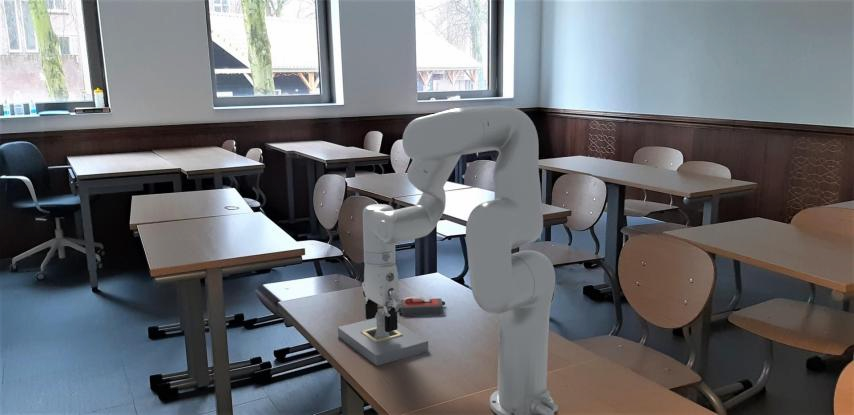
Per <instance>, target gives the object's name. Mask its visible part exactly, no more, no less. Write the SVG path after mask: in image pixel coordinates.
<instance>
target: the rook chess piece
mask: <svg viewBox="0 0 854 415" xmlns="http://www.w3.org/2000/svg"><path fill="white" fill-rule="evenodd" d="M385 316H386V313H385V310H384V311H383V310H381V311H379V310H378V312H377V313H376V315H375V318H376V319H377V321H376V324H377V329H376V333H375V336H374V338H375V339H376V340H378V339H381V338H385V337H389V336H390V335H389V333H388V332H386V331H385Z"/></svg>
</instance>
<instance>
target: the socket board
mask: <svg viewBox="0 0 854 415" xmlns="http://www.w3.org/2000/svg"><path fill="white" fill-rule="evenodd" d="M376 321H377V319H376V318H372V319H368V320H367V319H365V320H361V321H357V322H353V323H349V324H345V325H341V326H337V337H338V338H339V339H341V340H343V342H345V343H346V344H347V345H348V346H350V347H351V348H353V349H354V350H355V351H356V352H357V353H359V354H361V356H363V357H365V358H366V359H367V360H369V361H370V362H371V363H373V364H374V365H375V366H380V365H384V364H388V363H391V362H395V361H397V360H398V361H399V360H401V359H405V358H408V357H411V356H415V355H419V354H422V353H426V352H428V351H429V341H428V340H427V339H426V338H424V337H422V336H420V335H419V334H417V333H416V332H414V331H413V330H411V329H410V328H407V327H406V326H404V325H403V324H402V323H399V322H398V321H397V324H398V328H397V330H394V331H390V332H388V333H389V335H390V336H389V337H385V338H381V339H378V340H376V339H375V338H374V336H375V333H376V329H377V324H376Z"/></svg>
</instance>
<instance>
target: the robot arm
mask: <svg viewBox="0 0 854 415" xmlns="http://www.w3.org/2000/svg"><path fill="white" fill-rule="evenodd" d="M534 124H535V123H534V122H533V121H532V120H531V118H530V117H529V116H528V115H527V114H526V113H525V112H524V111H522V110H520V109H519V108H516V107H513V106H508V105H495V104H494V105H483V106H482V105H480V106H468V107H467V106H466V107H458V108H452V109H448V110H444V111H441V112H437V113H434V114H429V115H425V116H421V117H417V118H415V119H413V120H411V121H410V122H409V123H408V125H407V126H406V127H405V129H404V132H403V134H402V147H403V150H404V153H405V155H406V156H407V157H408V158H409V159H411V163H410V164H409V167H408V169H407V171H406V174H407V175H406V176H407V179H408V181H409V183H410V184H411V185H412V186H413V187H414V188H415V189H417V190H418V191H420V192H421V193H422V194H421V196H420V198H419V199H418V201H417V202H416V204H415V205H412V206H406V207H402V208H399V209H394V207H393V206H391V205H389V204H385V203H383V204H382V203H375V204H374V203H373V204H369V205H367V206H365V207H364V208H363V210H362V231H363V232H362V233H363V234H362V236H363V243H362V244H363V264H364V268H363V270H364V271H363V282H362V283H361V287H362V290H363V293H362V295H363V296H364V300H363V302H364V304H365V307H364V308H365V320H369V319H373V318H375V315H376V313H377V312H378V311H379V308H378V306H380V307H383V310H384V311H385V313H386V316H385V331H386V332H390V331H394V330H397V328H398V324H397V322H398V315H399V314H400V313H399V310H400V305H401V301H400V300H401V294H400V282H399V281H400V280H399V273H398V267H397V263H396V245H397V244H400V243H404V242H408V241H412V240H415V239H420V238H424V237H427V236H428V235H429V234H430V233H432V232H433V231H434V229H435V228H436V226H437V225H438V223H439V221H440V220H441V218H442V217H443V214H444V213H445V209H446V202H447V201H446V200H447V198H446V197H447V196H446V191H445V188H444V187H445V184H446V183H447V182H448V180H449V178H450V176H451V175H452V173H453V171H454V169H455V167H456V165H457V163H458V162H459V160H460V158H461V156H462V155H471V154H476V153H483V152H484V153H485V152H489V151H497V152H498V156H497V158H496V160H495V161H496V162H495V164H494V168H493V188H494V199H492V200H487V201H484V202H482V203H480V204H478V205H477V206H475V207H474V208H473V209H472V211H471V212H470V213H469V214H468V215H469V216H468V217H467V220H466V226H465V241H466V242H465V243H466V253H467V262H468V270H469V271H468V272H469V281H470V282H469V283H470V288H471V293H472V296H473V298H474V300H475V302H476V304H477V305H478V306H479V308H481V310H483V311H484V312H486V313H488V314H491V315H492V314H493V315H499V320H498V345H497V346H498V348H497V351H498V353H497V354H498V355H497V390H495V391H493V393H492V394H490V397H489V407H490V409H491V410H492V412H494V413H495V414H496V415H555V412H557V411H558V410H559V405H557V404H556V403H555V401H554V400H553V398H552V397H551V392H550V391H551V390H549V389H547V382H548V381H547V380H548V351H549V349H548V348H549V334H550V332H549V328H550V313H551V306H552V305H551V304H552V301H553V297H554V292H555V286H556V272H555V268H554V265H553V262H552V261H551V260H550V259H549V258H548V256H547V255H545V254H544V253H542V252H539V251H538V250H531V249H530V250H522V251H518V252H517V251H516V252H514V253H512V250H513V249H517V248H519V247H522V246H525V245H529V244H531V243H533V242H535V241H537V240H538V239H539V238H540V237H541V235H542V233H543V230H544V217H543V203H542V190H541V182H540V181H541V180H540V172H539V171H540V170H539V169H540V168H539V152H540V151H539V137H538V132H537V129H536V126H535V125H534ZM387 301H391V302H389V303H386V302H387ZM378 304H379V305H378ZM389 307H391V308H389Z"/></svg>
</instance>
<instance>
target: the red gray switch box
mask: <svg viewBox="0 0 854 415" xmlns="http://www.w3.org/2000/svg"><path fill="white" fill-rule="evenodd" d="M400 301H401V305H400V310H399V313H398V314H401V316H405V317H406V316H430V315H431V316H433V315H437V316H438V315H443V306H445V305H446V302H445V301H444V300H443V301H442V298H439V297H438V298H432V296H428V298H424V297H423V296H421V295H408V296H405V297H403V298H402V299H400ZM389 302H391V301H387V302H386V303H389ZM378 306H380V305H379V304H378Z"/></svg>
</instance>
